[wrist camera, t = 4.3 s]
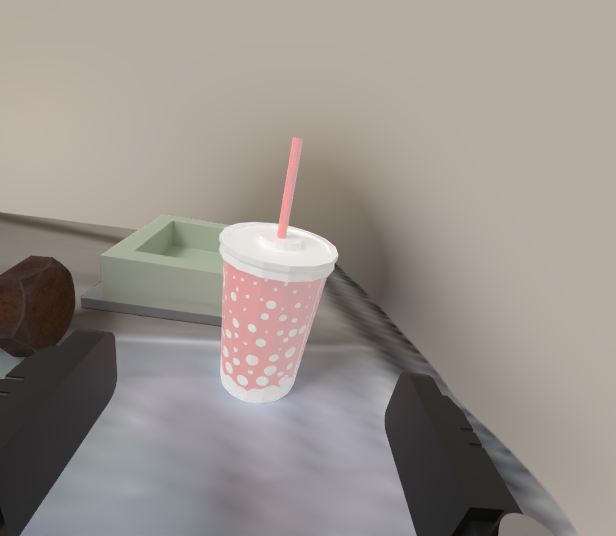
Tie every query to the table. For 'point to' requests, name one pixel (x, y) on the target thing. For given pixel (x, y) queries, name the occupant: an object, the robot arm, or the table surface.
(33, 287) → the bolt
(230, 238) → the beverage cup
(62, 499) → the table surface
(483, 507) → the robot arm
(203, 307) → the pale green square tray
